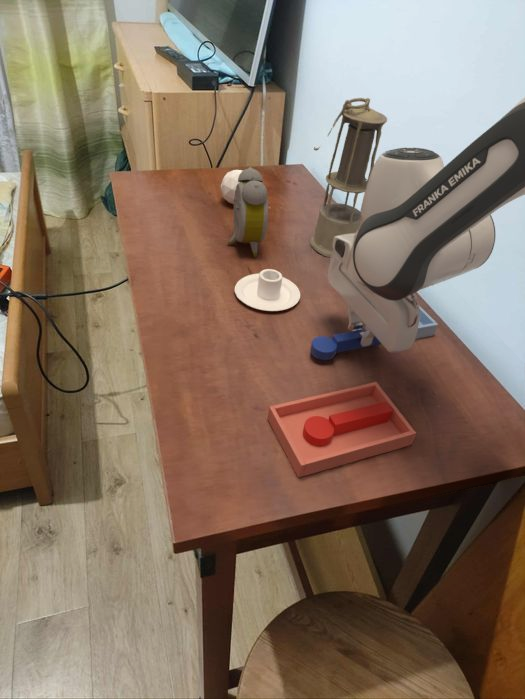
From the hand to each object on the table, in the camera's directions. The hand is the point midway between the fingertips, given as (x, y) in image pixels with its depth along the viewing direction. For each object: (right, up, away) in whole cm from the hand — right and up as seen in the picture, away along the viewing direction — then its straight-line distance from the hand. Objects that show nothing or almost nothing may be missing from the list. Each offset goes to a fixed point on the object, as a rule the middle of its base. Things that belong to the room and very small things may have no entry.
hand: (358, 337), depth 82 cm
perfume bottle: (-22, +34, +41) cm, 57 cm away
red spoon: (-4, -13, -12) cm, 18 cm away
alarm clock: (-20, +20, +24) cm, 37 cm away
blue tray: (+7, +5, +11) cm, 14 cm away
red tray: (-5, -13, -12) cm, 19 cm away
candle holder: (-15, +8, +11) cm, 20 cm away
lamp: (-2, +20, +28) cm, 34 cm away
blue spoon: (-2, -2, 0) cm, 2 cm away
